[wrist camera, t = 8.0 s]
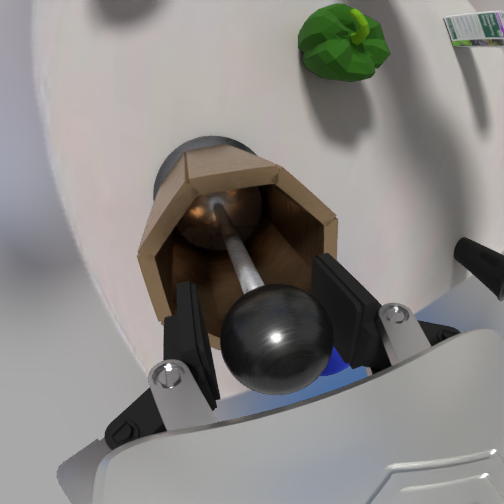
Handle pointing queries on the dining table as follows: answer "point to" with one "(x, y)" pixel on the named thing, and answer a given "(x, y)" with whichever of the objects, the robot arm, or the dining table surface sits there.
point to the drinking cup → (482, 264)
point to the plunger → (260, 302)
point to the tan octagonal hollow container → (257, 244)
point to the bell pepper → (342, 44)
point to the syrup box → (476, 29)
